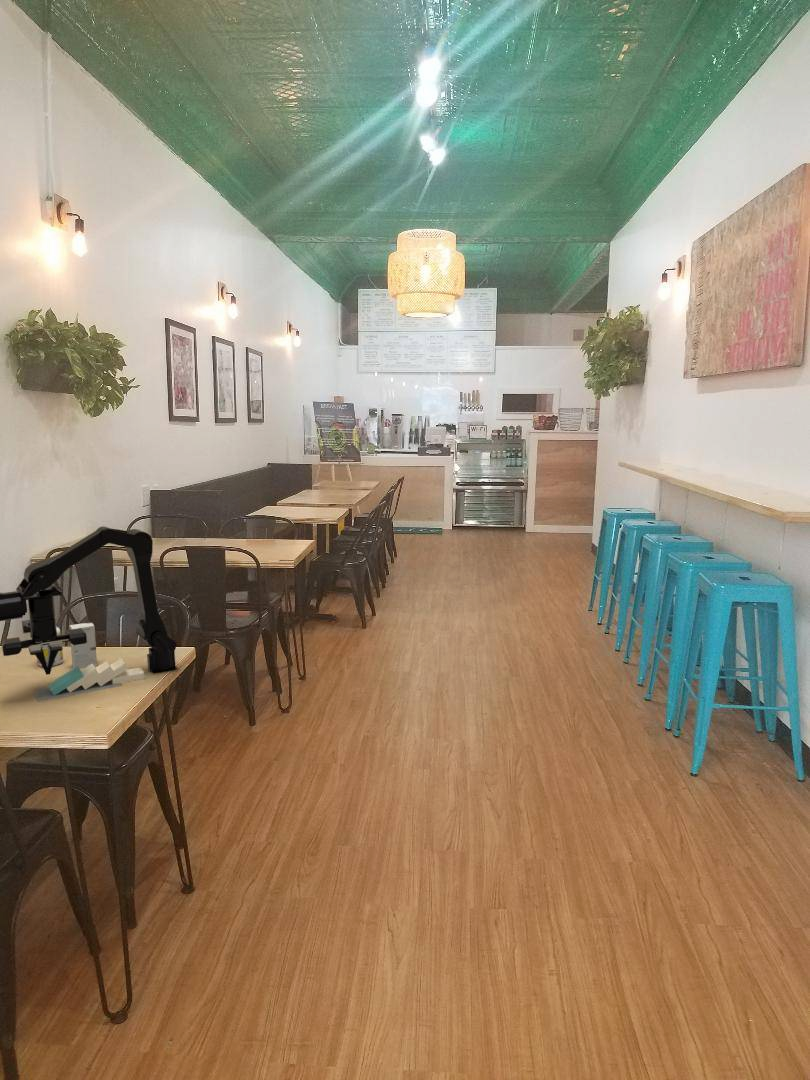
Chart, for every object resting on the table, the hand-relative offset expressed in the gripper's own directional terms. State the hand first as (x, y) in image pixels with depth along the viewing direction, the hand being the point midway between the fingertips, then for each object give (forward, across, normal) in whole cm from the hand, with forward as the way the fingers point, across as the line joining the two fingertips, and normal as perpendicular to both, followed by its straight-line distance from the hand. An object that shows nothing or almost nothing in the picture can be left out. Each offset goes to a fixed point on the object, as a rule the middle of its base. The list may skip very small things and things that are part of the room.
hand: (48, 674), depth 182 cm
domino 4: (+4, -15, 0) cm, 15 cm away
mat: (+5, -7, 0) cm, 9 cm away
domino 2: (+4, -8, 0) cm, 9 cm away
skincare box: (+6, -11, -17) cm, 21 cm away
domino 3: (+4, -11, 0) cm, 12 cm away
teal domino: (+4, 0, 0) cm, 4 cm away
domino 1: (+4, -4, 0) cm, 6 cm away
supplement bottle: (+6, -3, -25) cm, 26 cm away
